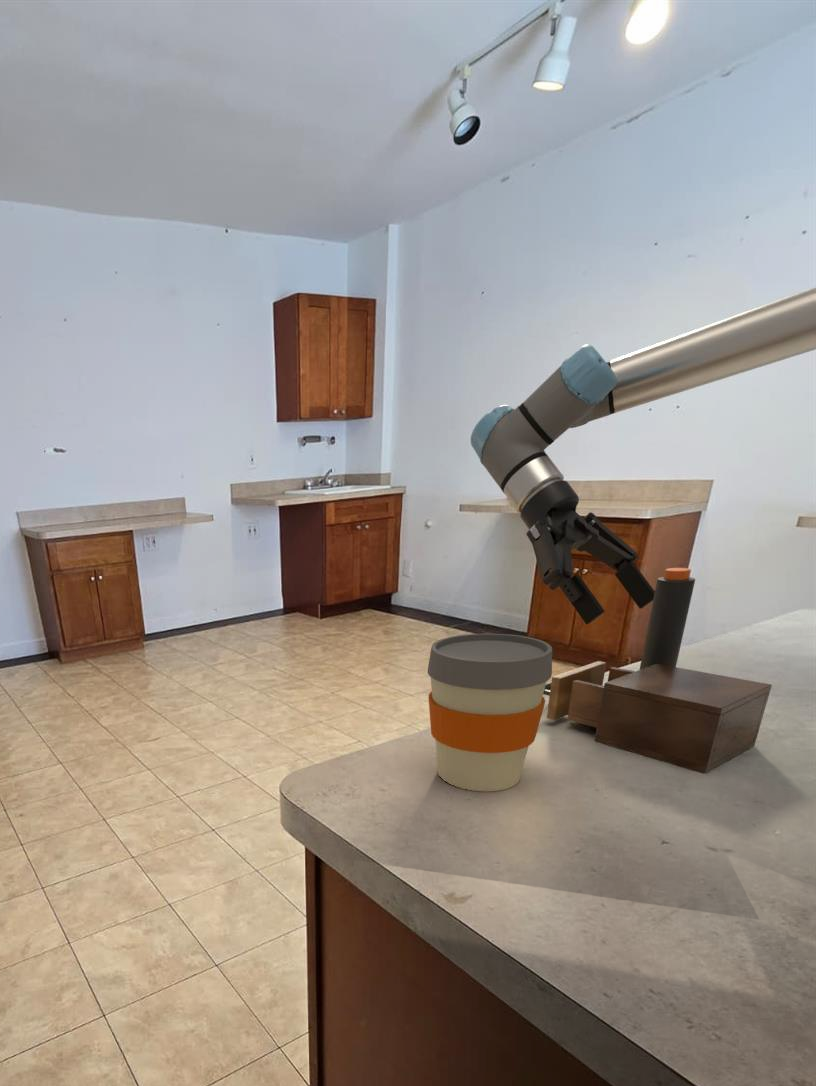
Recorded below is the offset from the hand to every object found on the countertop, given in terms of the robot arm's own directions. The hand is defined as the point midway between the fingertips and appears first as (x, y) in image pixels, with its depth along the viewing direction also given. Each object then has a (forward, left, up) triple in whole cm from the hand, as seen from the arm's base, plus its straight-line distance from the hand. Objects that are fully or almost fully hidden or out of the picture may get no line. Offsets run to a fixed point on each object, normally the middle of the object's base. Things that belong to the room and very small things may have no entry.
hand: (623, 610), depth 91 cm
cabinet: (-3, +20, -12) cm, 24 cm away
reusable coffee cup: (+19, +32, -12) cm, 40 cm away
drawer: (+4, +14, -11) cm, 18 cm away
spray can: (-5, +4, -12) cm, 14 cm away
